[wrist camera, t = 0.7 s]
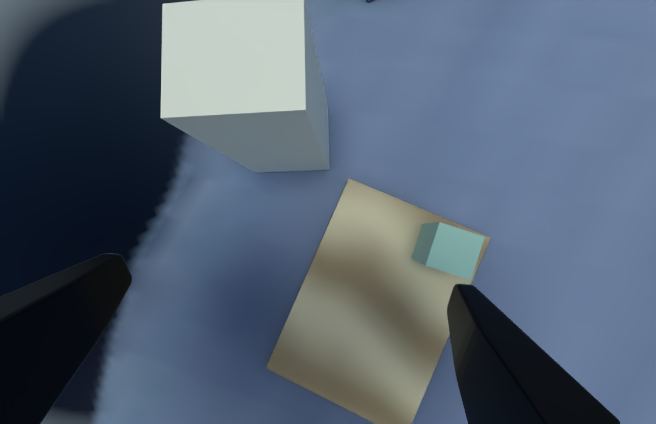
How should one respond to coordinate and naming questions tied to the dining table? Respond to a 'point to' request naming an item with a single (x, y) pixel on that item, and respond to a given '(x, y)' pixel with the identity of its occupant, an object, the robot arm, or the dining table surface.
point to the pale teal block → (448, 249)
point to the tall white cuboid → (246, 82)
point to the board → (369, 310)
